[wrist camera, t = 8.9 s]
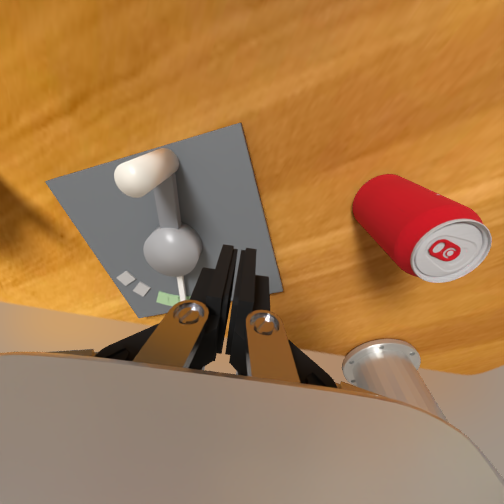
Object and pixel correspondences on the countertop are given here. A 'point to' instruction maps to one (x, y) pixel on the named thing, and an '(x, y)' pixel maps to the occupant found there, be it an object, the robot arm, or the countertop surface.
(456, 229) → the beverage can
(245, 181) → the board
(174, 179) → the peg dial
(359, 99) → the countertop surface
